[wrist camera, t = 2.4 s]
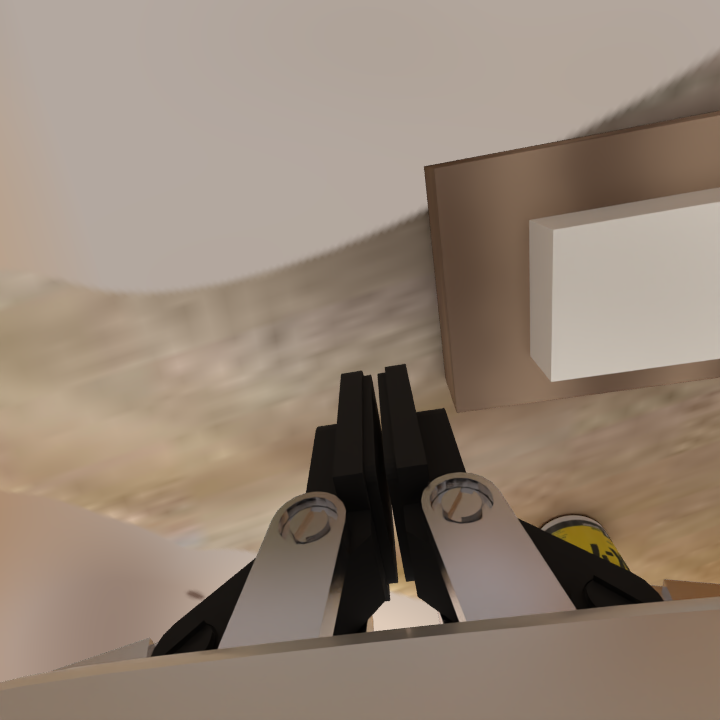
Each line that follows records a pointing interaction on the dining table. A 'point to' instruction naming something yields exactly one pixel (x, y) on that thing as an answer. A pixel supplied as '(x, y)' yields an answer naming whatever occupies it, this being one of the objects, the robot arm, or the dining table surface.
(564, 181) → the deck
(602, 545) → the supplement bottle
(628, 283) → the white rectangular block
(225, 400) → the dining table surface
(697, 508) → the dining table surface
